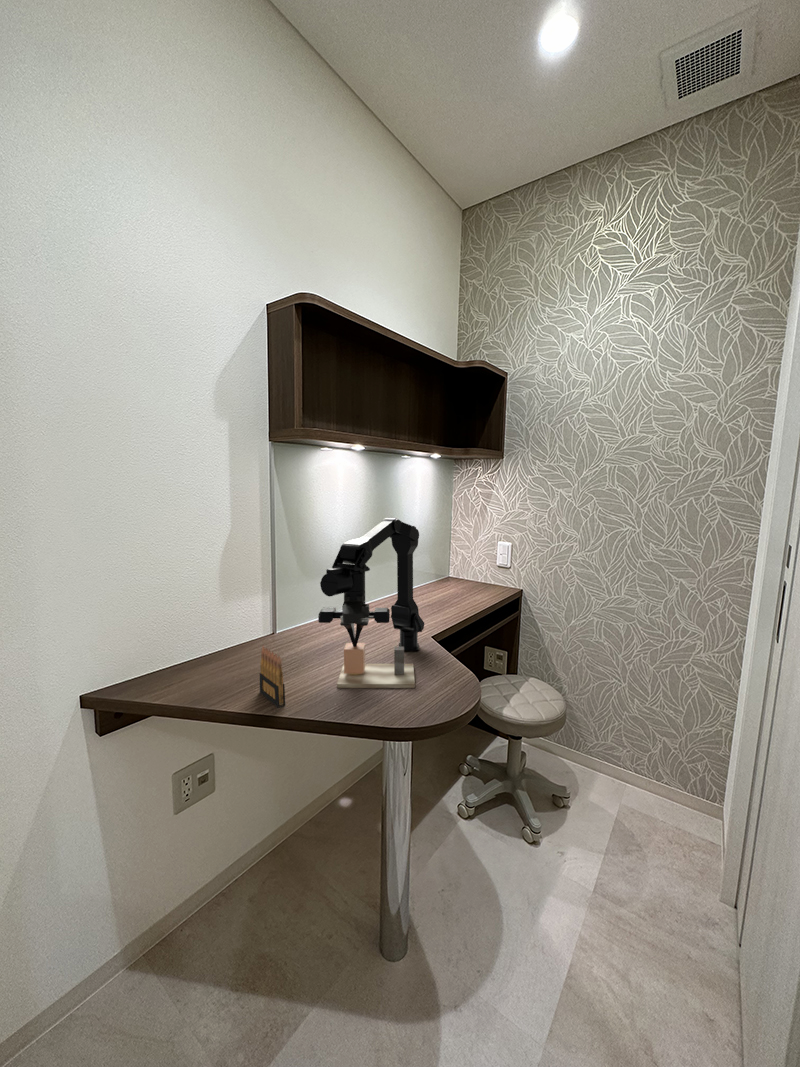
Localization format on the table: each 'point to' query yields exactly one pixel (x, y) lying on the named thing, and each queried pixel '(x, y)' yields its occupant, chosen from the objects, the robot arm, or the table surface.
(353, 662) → the peach rectangular block
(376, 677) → the post board
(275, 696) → the ammunition clip
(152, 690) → the table surface
